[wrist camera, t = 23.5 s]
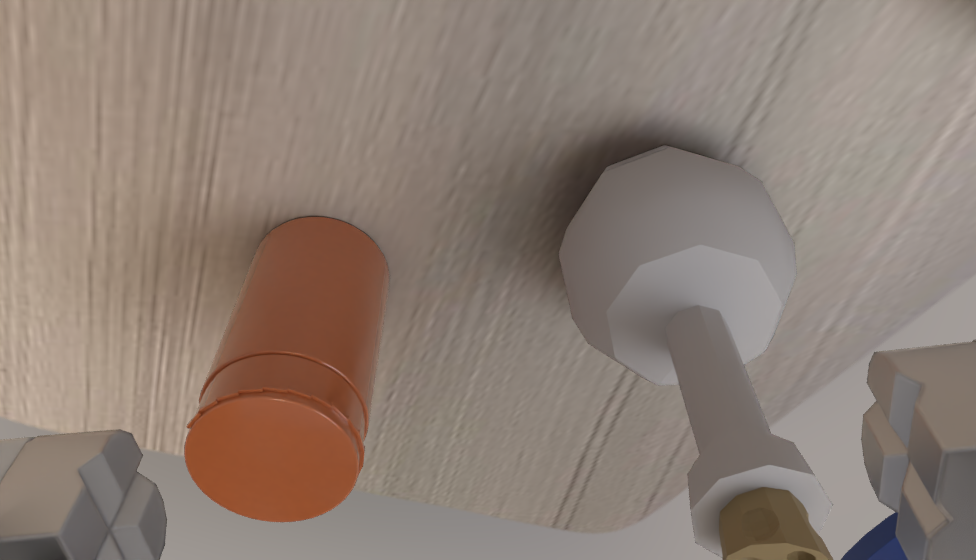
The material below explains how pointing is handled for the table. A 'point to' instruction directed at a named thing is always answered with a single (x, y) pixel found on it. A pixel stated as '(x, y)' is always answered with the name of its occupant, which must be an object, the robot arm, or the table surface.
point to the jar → (293, 375)
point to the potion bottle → (700, 333)
